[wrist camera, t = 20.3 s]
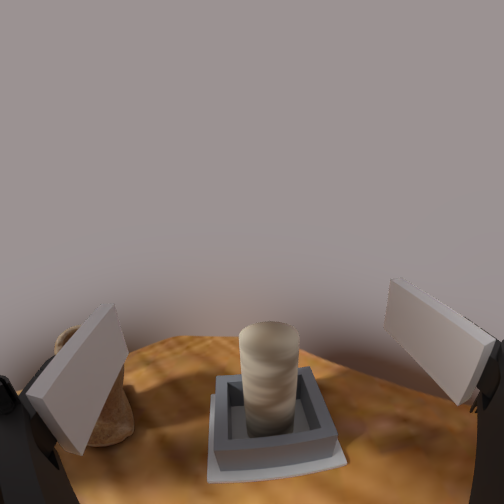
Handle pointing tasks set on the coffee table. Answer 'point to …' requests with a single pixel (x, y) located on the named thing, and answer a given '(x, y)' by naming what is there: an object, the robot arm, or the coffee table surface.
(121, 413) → the tan boot
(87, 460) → the coffee table surface
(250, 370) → the peg
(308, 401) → the well
